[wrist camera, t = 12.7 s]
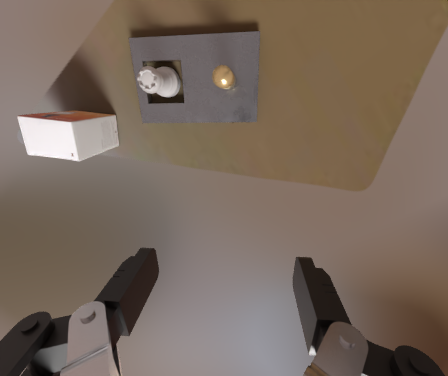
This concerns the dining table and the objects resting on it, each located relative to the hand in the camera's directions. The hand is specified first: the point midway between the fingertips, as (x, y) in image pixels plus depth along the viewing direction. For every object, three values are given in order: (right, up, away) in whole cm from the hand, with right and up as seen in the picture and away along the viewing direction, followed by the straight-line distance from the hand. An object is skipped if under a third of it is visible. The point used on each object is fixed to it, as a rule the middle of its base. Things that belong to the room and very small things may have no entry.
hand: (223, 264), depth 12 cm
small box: (-23, +15, +27) cm, 38 cm away
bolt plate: (-4, +21, +22) cm, 31 cm away
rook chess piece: (-9, +21, +23) cm, 33 cm away
